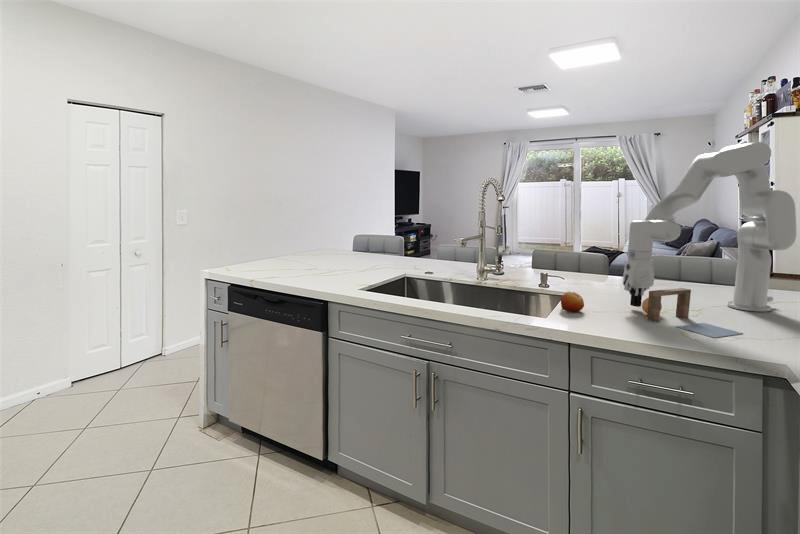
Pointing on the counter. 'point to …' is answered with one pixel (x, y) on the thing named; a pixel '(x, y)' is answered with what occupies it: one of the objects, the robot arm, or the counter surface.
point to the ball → (645, 305)
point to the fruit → (572, 302)
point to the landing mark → (709, 330)
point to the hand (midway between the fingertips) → (635, 305)
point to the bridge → (655, 296)
